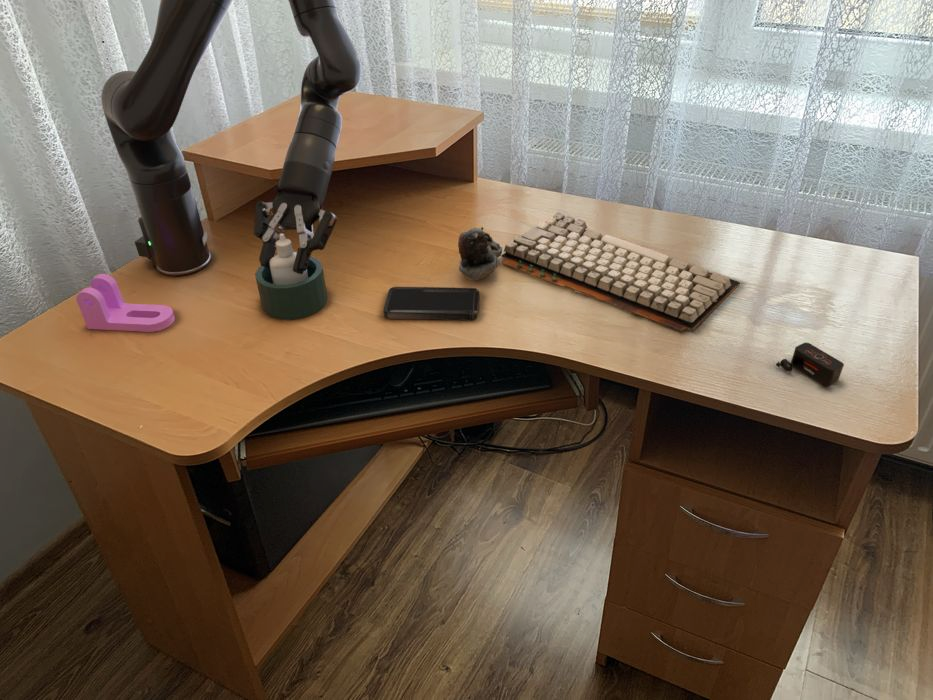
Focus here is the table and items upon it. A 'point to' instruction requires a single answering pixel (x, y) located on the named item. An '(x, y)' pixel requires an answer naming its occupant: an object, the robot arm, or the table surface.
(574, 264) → the mechanical keyboard
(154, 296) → the table surface
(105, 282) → the bracket
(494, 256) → the bison figurine
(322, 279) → the green short hollow cylinder
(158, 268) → the robot arm
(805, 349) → the wireless earbuds
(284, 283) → the eye dropper bottle
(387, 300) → the phone
